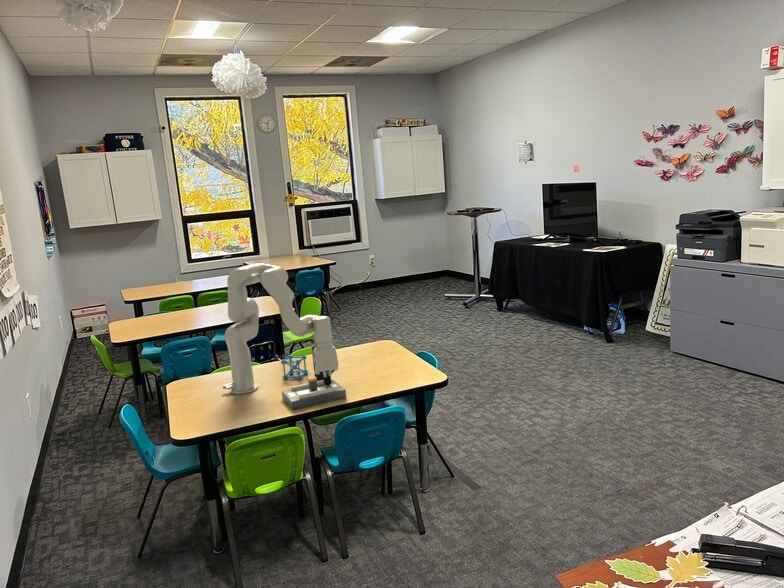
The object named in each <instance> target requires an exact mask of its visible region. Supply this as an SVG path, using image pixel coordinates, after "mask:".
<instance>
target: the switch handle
mask: <svg viewBox="0 0 784 588" xmlns="http://www.w3.org/2000/svg"><path fill="white" fill-rule="evenodd" d="M307 381H308V382H307V383H308V385H309V390H310V391H315V390H318V389H317V378H316V377H315V375H313V376H307Z"/></svg>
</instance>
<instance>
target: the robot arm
mask: <svg viewBox="0 0 784 588" xmlns="http://www.w3.org/2000/svg"><path fill="white" fill-rule="evenodd" d="M288 280H289V274H288V272H287V271H286V270H285V268H283V267H281V266H277V265H271V264H267V263H266V264H265V263H252V264H249V265H244V266H240V267H237V268H235V269H234V270H232V271H230V273H229V274H228V275H227V280H226V282H227V283H226V284H227V316H228V318H229V320H230V321H232V322H234V324H231V325H230V326H228V327H227V328H226V330H225V332H224V339H225V343H226V346H227V350H228V357H229V362H230V371H231V381H230V383H228V384H222V390H227V391H228V390H229V391H230V393H231V394H234V395H244V394H250V393H253V392H255V391H257V390H258V389H259V386H258V385H259V384H256V383H255V379H254V373H253V371H254V370H253V364H252V355H251V351H250V347H249V346H248V344H247V342H248V341H251V340H252V339H254V338H255V337H257V335H258V332H259V323H260V322H259V316H260V315H259V314H260V310H259V305H258V303H257V301H256V300H255V299H254V298H252V297H248V289H247V286H250V285H254V284H256V283H261V285H262V287H263V288H264V289H265V290H266V292H267V293H268V295H270V297H271V298H272V299H273V301H274V302H275V303H276V304H277V306H278V309H279V314H280V317H281V320H282V323H284V325H285V326H286V327H287V328H288V329H289V331H290V332H291V333H292V334H293V335H295V336H296V337H304V336H306V335H308V334H310V333H312V332H313V335H314V337H313V339H314V341H313V342H314V344H312V345H311V348H312V347H315V348H314V358H313V357H312V360H313V359H314V367H313V372H314V373H315V374H321V375H322V376H323V380H324V384H325V385H326V386H328V385H331V384H330V383H331V380H332V375H333V373H334V372H336V371H338V370H339V360H338V358H339V357H338V354H337V349H336V347H335V345H333V337H332V335H333V334H332V325H331V318H330V316H328V315H315V314H306V315H304V316H301V317H299V315H297V313H296V312H295V310H294V307H293V300H294V298H295V293H294V292H293V290H291V288H290V286H288V284H287V282H288ZM314 369H315V371H314ZM325 371H327V375H326V372H325ZM314 373H313V374H314Z"/></svg>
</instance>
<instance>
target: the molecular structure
mask: <svg viewBox="0 0 784 588" xmlns="http://www.w3.org/2000/svg"><path fill="white" fill-rule="evenodd" d="M292 359H296V360H295V361H293V360H292ZM306 359H307V355H306V354H302V355H301V356H293V355H291V354H288V355H287V358H286V359H281V361H280V364H282V369H283V375H282V379H283V380H287V379H298V380H302V379H303V376H304V375H308V373H309V370H308V369H307V367H306V366H307V364H306ZM302 361H303V367H304V370H303V369H302V368H300V364H301V363H302ZM285 364H286V365H287V366H289V368H290V369H289V370H288V372H287V374H286V365H285ZM294 373H295V374H297V376H296V375H295V376H293V375H294ZM290 375H291V376H290Z"/></svg>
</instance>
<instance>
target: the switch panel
mask: <svg viewBox="0 0 784 588" xmlns="http://www.w3.org/2000/svg"><path fill="white" fill-rule="evenodd" d="M330 384H331V385H328V386H326V385H325V384H324V380H321V381H317V389H318V390H315V391H310V390H309V385H308V382H307V383H303V384H299V385H292V386H290V388H289V389H284V390H281V396H282V400H284V401H285V402H286V403H285V402H284V401H283V402H284V403H285V404H286V405H287V406H288V408H289V409H290V408H291V409H292V410H294V411H299V410H302V409H306V408H311V407H316V406H319V405H324V403H325V404H328V402H329V403H333V402H337V400H338V401H341V399H342V400H346V399H347V391H346V388H344V386H342V385H340V384H339V383H338V382H336V380H334V379H331V383H330ZM315 405H316V406H315ZM291 409H290V410H291ZM292 410H291V411H292Z"/></svg>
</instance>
